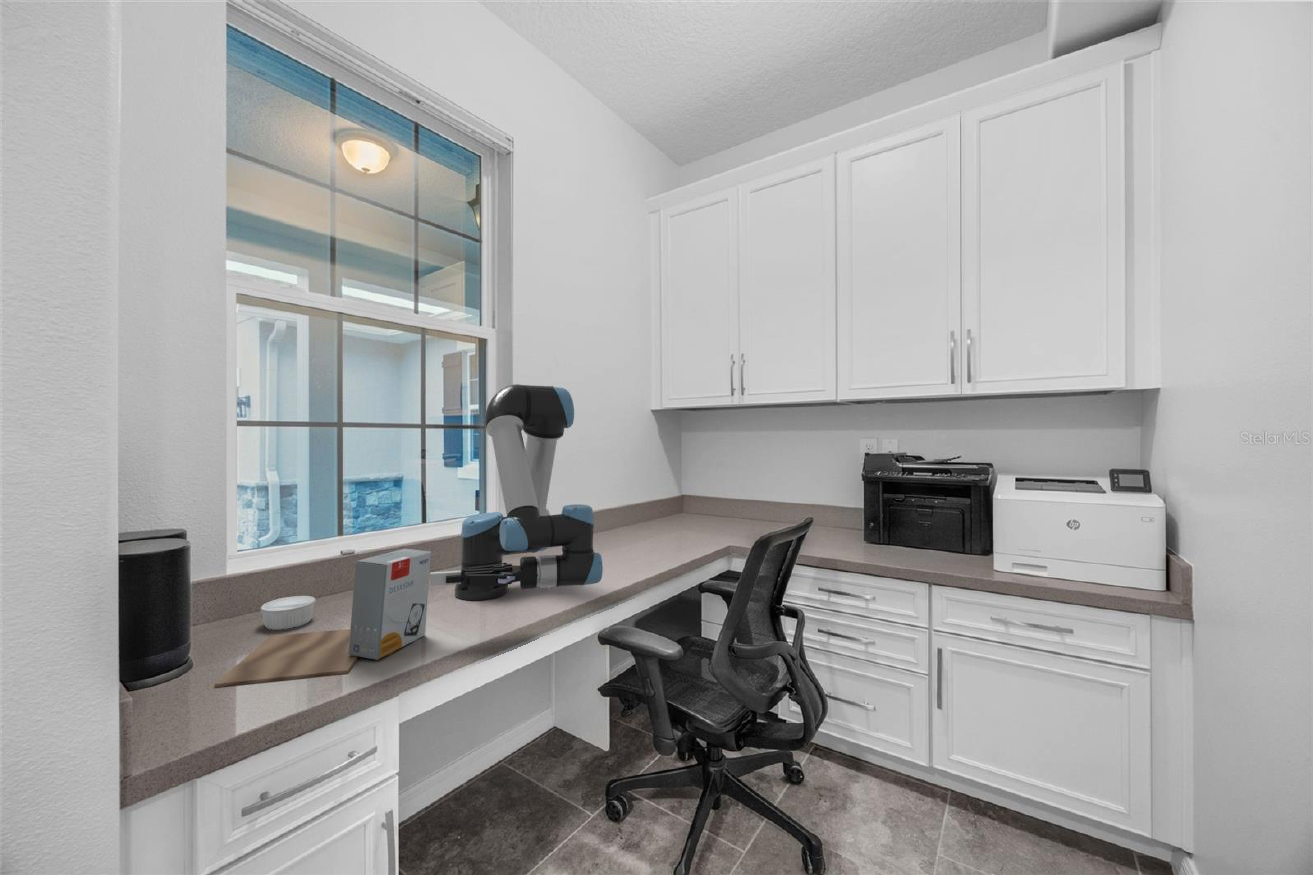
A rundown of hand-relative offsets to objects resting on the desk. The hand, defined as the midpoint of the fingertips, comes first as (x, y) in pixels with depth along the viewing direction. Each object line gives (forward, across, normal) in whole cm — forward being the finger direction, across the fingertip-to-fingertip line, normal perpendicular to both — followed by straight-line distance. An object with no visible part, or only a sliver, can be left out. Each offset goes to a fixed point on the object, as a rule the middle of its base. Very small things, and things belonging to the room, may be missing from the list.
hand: (430, 579), depth 117 cm
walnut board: (+25, 0, -14) cm, 28 cm away
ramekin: (+36, +22, -15) cm, 44 cm away
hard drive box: (+9, 0, -14) cm, 17 cm away
